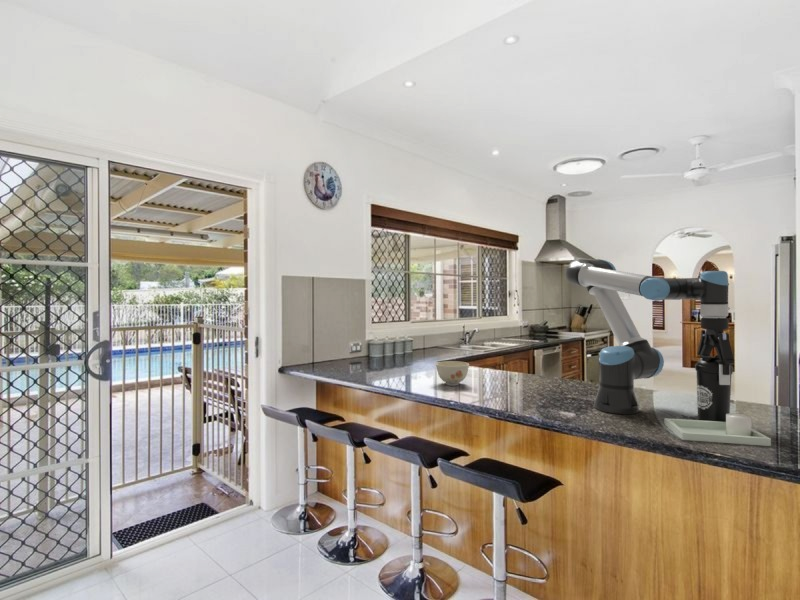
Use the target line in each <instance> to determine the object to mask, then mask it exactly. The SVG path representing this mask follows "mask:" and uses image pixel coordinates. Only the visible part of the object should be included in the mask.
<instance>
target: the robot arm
mask: <svg viewBox="0 0 800 600" xmlns="http://www.w3.org/2000/svg"><path fill="white" fill-rule="evenodd" d="M564 275H565V278H566V280H567V281H568V283H569V284H571V285H573V286H577V287H585V288H586V290H587V291H588V293H589V295H591V296H594V297H595V299H596V302H597V304H598V305H599V307H600V310H601V312H602V314H603V316H604V318H605V319H606V322H607V325H608V326H609V328H610V329H611V332H612V333H613V336H614V338H615V340H616V342H617V344H618V345H615V346H614V345H612V346H606V347H603V348H602V349H601V350H600V351H599V357H598V363H599V364H598V366H599V367H598V368H599V370H598V371H599V374H598V375H599V377H598V378H599V382H598V383H599V385H598V390H597V393H596V396H595V398H594V403H593V405H594V408H595V409H596V410H599V411H601V412H606V413H611V414H615V415H616V414H617V415H634V414H637V413H639V412H640V407H639V406H640V405H639V401H638V399H637V396H636V393H635V390H634V387H635V386H634V383H635V382H634V381H635V380H641V379H650V378H652V377H656V376H658V375H660V373H662V371H663V367H664V366H665V365H664V364H665V360H664V356H663V353H662V352H661V351H659V349H657V348H655V347H653V346H651V345H650V343H649V341H648V339H646V338H643V337H641V335H640V333H639V331H638V328H637V327H636V326H635V323H634V321H633V320H632V317H631V315H630V314H629V312H628V309H627V308H626V306H625V304H624V302H623V301H622V298H621V297H620V295H619V293H618V292H621V293H625V294H630V295H635V296H641V297H644V298H645V299H646V300H649V301H666V300H668V301H669V300H675V301H677V300H678V301H679V300H699V301H700V305H699V306H700V310H699V311H700V313H699V314H700V316H701V318H700V328H701V329H702V330H701V333H700V340H699V344H698V347H697V348H698V349H697V353H696V354H697V356H700V355H703V356H711V353H712V351H713V348H715V351H716V355H718V357H719V360H720V362H719V363H718V364H719V384H720V385H730V365H731V366H732V364H735V358H734V353H733V350H732V347H731V342H730V333H728V332H725V333H724V330H728V329H729V324H730V323H729V321H730V320H729V318H727V317H728V316H729V311H730V309H731V308H730V307H729V285H730V283H729V275H728V272H727V271H724V270H706V271H701V272H700V276H699V277H685V278H684V277H681V278H680V277H679V278H678V277H677V278H676V277H669V278H668V277H658V276H657V277H656V276H653V275H644V274H638V273H633V272H628V271H627V272H626V271H623V270H622V271H621V270H617V269H616V267H615V265H614V264H613V263H612V262H611V261H608V260H607V259H606V260H605V259H599V258H597V259H596V258H595V259H589V258H588V259H587V258H585V259H584V258H579V259H574V260H572V261H571V262H569V263H568V265H567V266H566V268H565V274H564ZM699 358H700V360H701V359H702V358H701V357H699Z"/></svg>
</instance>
